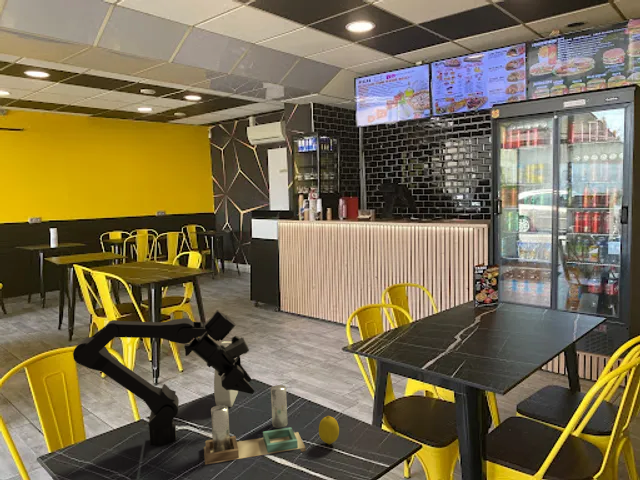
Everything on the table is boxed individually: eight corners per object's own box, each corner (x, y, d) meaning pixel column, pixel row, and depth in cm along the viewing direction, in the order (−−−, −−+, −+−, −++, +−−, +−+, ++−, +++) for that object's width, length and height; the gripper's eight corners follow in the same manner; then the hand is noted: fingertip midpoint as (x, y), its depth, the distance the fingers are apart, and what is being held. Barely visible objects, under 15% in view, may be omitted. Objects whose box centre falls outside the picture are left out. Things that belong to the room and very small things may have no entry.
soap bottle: (231, 410, 159) (228, 349, 157) (215, 411, 159) (211, 350, 157) (240, 390, 175) (237, 335, 173) (225, 391, 175) (222, 335, 173)
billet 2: (273, 432, 143) (272, 391, 142) (271, 425, 148) (269, 386, 146) (288, 429, 144) (287, 389, 143) (286, 423, 149) (284, 384, 148)
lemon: (322, 450, 132) (321, 421, 131) (316, 441, 137) (315, 413, 136) (342, 447, 133) (341, 418, 133) (336, 437, 139) (335, 410, 138)
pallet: (205, 468, 125) (204, 456, 125) (204, 450, 134) (203, 440, 134) (305, 451, 132) (305, 440, 132) (298, 435, 141) (297, 425, 140)
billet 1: (213, 458, 128) (211, 413, 127) (212, 449, 132) (210, 406, 131) (231, 455, 129) (228, 410, 128) (229, 447, 134) (227, 404, 132)
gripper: (232, 340, 131) (275, 376, 135) (229, 322, 149) (267, 355, 153) (203, 372, 130) (247, 407, 134) (203, 350, 148) (242, 382, 152)
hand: (252, 386), depth 143 cm, fingers open, 9 cm apart
